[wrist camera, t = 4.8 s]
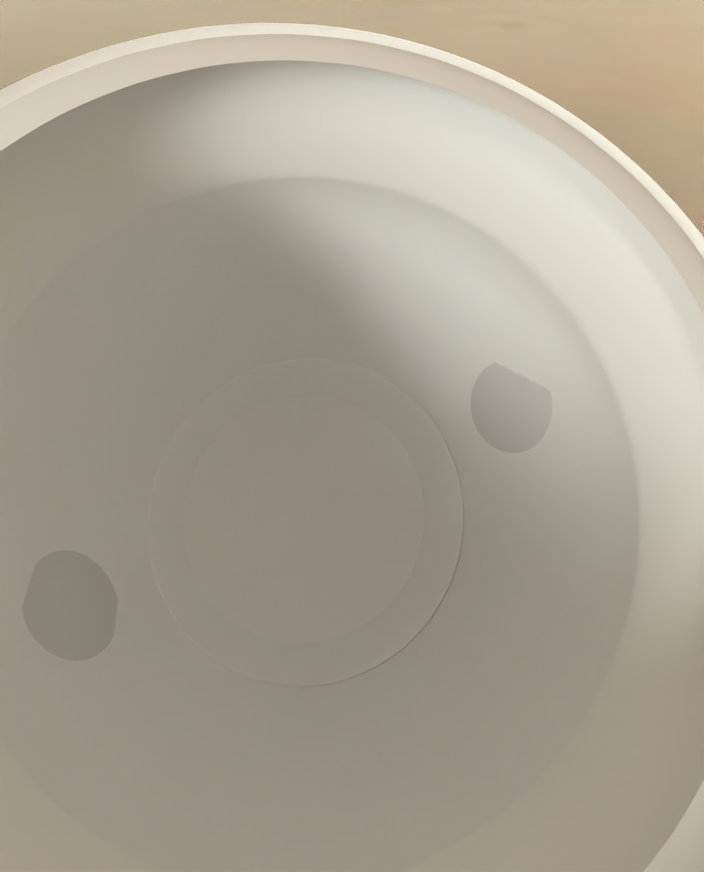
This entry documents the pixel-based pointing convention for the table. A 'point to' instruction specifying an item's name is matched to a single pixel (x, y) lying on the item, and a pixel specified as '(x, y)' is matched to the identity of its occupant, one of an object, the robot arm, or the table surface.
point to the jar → (344, 468)
